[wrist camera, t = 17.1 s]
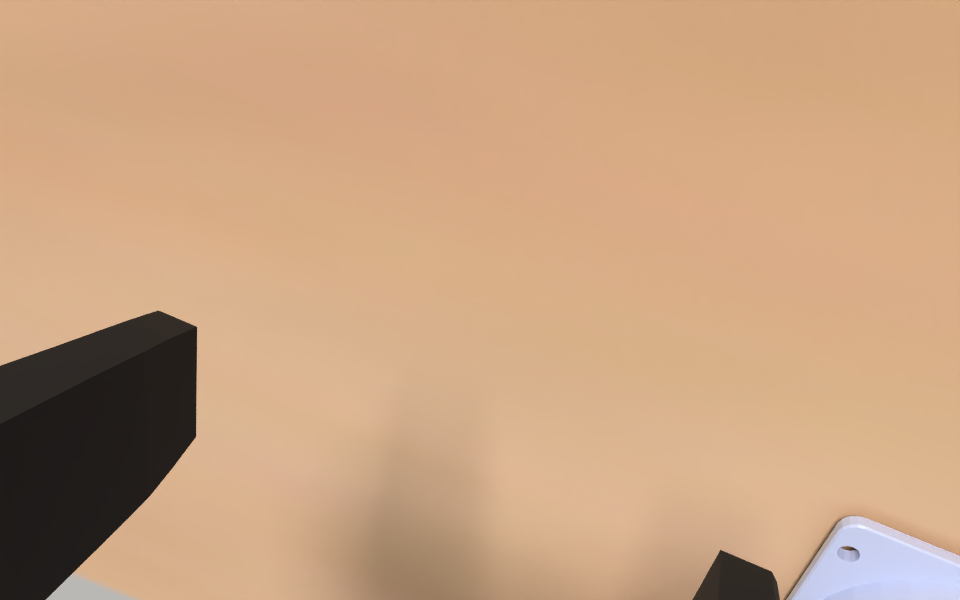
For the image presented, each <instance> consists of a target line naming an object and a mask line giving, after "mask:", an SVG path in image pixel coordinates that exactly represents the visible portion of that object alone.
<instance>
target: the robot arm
mask: <svg viewBox="0 0 960 600" xmlns="http://www.w3.org/2000/svg"><path fill="white" fill-rule="evenodd" d="M196 374H197V327H196V326H193V325H191V324H189V323H186V322H184V321H182V320H179V319H177V318H175V317H172V316H170V315H168V314H165V313H163V312H161V311H156V312H153V313H150V314H146V315H143V316H140V317H137V318H134V319H131V320H128V321H125V322H123V323H120V324H117V325H114V326H111V327H108V328H106V329H103V330H100V331H97V332H94V333H92V334H89V335H86V336H83V337H81V338H78V339H75V340H72V341H69V342H67V343H64V344H61V345H58V346H56V347H53V348H50V349H47V350H44V351H41V352H38V353H36V354H33V355H30V356H27V357H24V358H21V359H18V360H16V361H13V362H10V363H7V364H4V365H1V366H0V600H46V599H47V598H48V597H49V596H50V595H51V594H52V593H53V592H54V591H55V590H56V589H57V588H58V587H59V586H60V585H61V584H62V583H63V582H64V581H65V580H66V579H67V578H68V577H69V576H70V575H71V574H72V573H73V572H74V571H75V570H76V569H77V568H78V567H79V566H80V565H81V564H82V563H83V562H84V561H85V560H86V559H87V558H88V557H89V556H90V555H91V554H92V553H93V552H94V551H96V550H97V549H98V548H99V547H100V546H101V545H102V544H103V543H104V542H105V541H106V540H107V539H108V538H109V537H110V536H111V535H112V534H113V533H114V532H115V531H116V530H117V529H118V528H119V527H120V526H121V525H122V524H123V523H124V522H125V521H126V520H127V519H128V518H129V517H130V516H131V515H132V514H133V513H134V512H135V511H136V510H137V509H138V508H139V507H140V506H141V504H142V503H143V502H144V501H145V500H146V499H147V498H148V497H149V496H150V495H151V494H152V493H153V491H154V490H155V489H156V488H157V486H158V485H159V484H160V483H161V481H162V480H163V479H164V478H165V476H166V475H167V474H168V473H169V472H170V470H171V469H172V468H173V466H174V465H175V464H176V462H177V461H178V460H179V458H180V457H181V456H182V454H183V453H184V452H185V451H186V449H187V448H188V447H189V445H190V444H191V443H192V441H193V440H194V439H195V437H196ZM843 546H850V547H854V548H855V549H856V550H851V551H849V550H844V549H842V548H841V547H843ZM693 600H780V598H779V592H778V586H777V582H776V579H775V577H774V575H773V573H772V572H771V571H769V570H766V569H764V568H762V567H759V566H757V565H755V564H752V563H750V562H747V561H745V560H743V559H740V558H738V557H736V556H733V555H731V554H729V553H726V552H724V551H722V550H720V552H719V554H718V556H717V557H716V559H715V561H714V563H713V565H712V566H711V568H710V570H709V572H708V573H707V575H706V577H705V579H704V581H703V582H702V584H701V586H700V588H699V589H698V591H697V593H696V595H695V596H694V598H693ZM786 600H960V556H959V555H956V554H954V553H951V552H949V551H946V550H944V549H941V548H939V547H936V546H934V545H931V544H929V543H926V542H924V541H922V540H919V539H917V538H914V537H912V536H909V535H907V534H904V533H902V532H899V531H897V530H894V529H892V528H889V527H887V526H885V525H882V524H880V523H877V522H875V521H872V520H870V519H867V518H864V517H860V516H849V517H846V518H843V519H841V520H840V521H839V522H838V523H837V525H836V526H835V528H834V529H833V531H832V532H831V534H830V535H829V537H828V538H827V540H826V541H825V543H824V544H823V546H822V547H821V549H820V550H819V552H818V553H817V555H816V556H815V558H814V559H813V561H812V562H811V564H810V565H809V567H808V568H807V570H806V571H805V573H804V574H803V576H802V577H801V579H800V580H799V582H798V583H797V585H796V586H795V588H794V589H793V590H792V592H791V593H790V595H789V596H788V598H787V599H786Z"/></svg>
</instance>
